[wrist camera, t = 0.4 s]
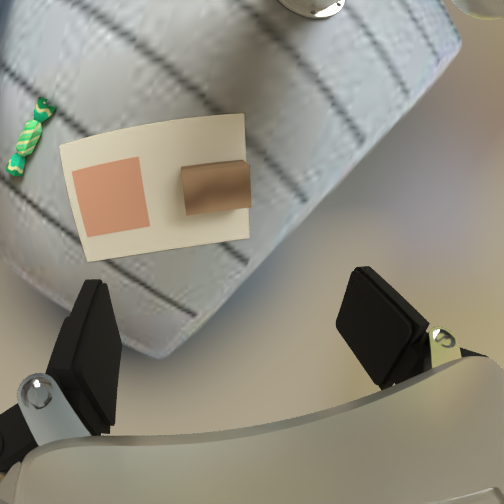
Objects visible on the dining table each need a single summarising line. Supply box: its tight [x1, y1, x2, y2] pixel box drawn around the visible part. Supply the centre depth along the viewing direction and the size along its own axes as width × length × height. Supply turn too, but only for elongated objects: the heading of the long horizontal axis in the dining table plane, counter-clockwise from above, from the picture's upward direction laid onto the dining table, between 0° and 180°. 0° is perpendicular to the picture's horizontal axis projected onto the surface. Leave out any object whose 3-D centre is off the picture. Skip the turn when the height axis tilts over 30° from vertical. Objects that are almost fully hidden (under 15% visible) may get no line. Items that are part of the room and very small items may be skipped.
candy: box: [6, 97, 56, 176], centre depth 27 cm, size 12×3×4 cm
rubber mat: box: [59, 113, 250, 262], centre depth 38 cm, size 20×28×1 cm
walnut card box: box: [181, 160, 251, 216], centre depth 38 cm, size 6×9×4 cm, turn 92°
